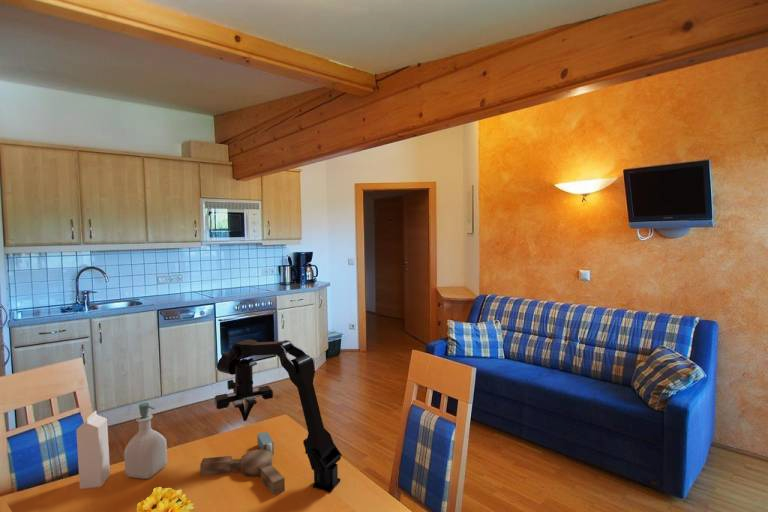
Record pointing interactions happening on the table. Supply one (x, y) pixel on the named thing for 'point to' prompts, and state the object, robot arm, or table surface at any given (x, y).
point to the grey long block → (265, 442)
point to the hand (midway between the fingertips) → (244, 420)
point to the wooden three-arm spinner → (247, 468)
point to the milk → (93, 452)
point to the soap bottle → (145, 448)
